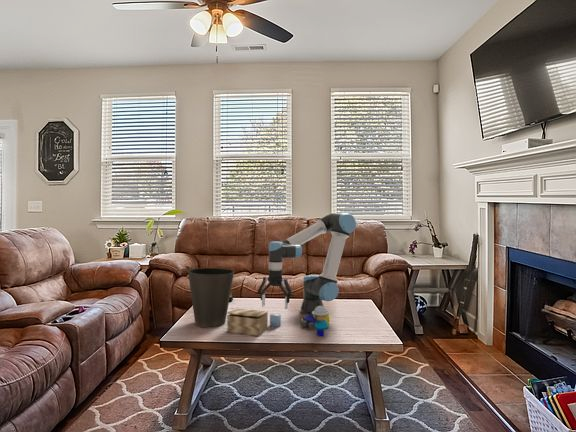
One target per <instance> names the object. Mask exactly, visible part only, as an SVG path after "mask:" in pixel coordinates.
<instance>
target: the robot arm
mask: <svg viewBox="0 0 576 432" xmlns="http://www.w3.org/2000/svg"><path fill="white" fill-rule="evenodd" d="M356 227H357V222H356V219H355V217H354V215H353V214H351V213H349V212H348V213H347V212H332V213H329V214H327V215H325V216H323V217H321V218H319V219H318V220H317V221H316V222H315V223H313V224H312V225H310V226H307V227H306V228H304V229H302V230H301V231H299V232H297V233H295V234H293V235H292V236H290V237H287V238H285V239H284V240H282V241H270V242H269V246H268V277H267V276H264V277H263V278H262V282H261V284H260V285H259V288H258V290H257V294H258V295H259V294H260V301H261V307H263V308H264V307H265V306H266V294H265V293H266V292H267V290H268V289H269V288H270V287H271V286H272V287H279V288H280V289H281V291H282V292H283V294H284V296H285V297H284V310H287V309H288V308H289V304H288V303H290V297H293V295H294V294H293V291H292V289H291V286H290V284H289V282H288V278H283V270H282V269H283V259H297V258H301V256H302V255H303V248H302V245H304V244H305V243H307V242H309V241H311V240H313V239H314V238H317V237H318V236H320V235H322V234H327V233H328V232H330V233H331V240H330V243H329V246H328V250H327V253H326V258H325V260H324V261H325V262H324V265H323V267H322V268H323V269H322V272H321V274H309V275H305V276H304V277H303V282H302V283H303V285H302V286H303V291H302V292H303V297H302V298H303V299H302V302H301V305H300V313H302V314H303V315H310V314H311V315H312V312H313V311H314V310H315V308H316V307H317V306H323V307H324V308H325V306H324V303H323V301H324V302H331V301H333V300H335V299H336V298H337V297H338V296H339V295H338V294H339V292H340V291H339V290H340V289H339V286H338V285H337V284H338V279H337V274H338V271H339V266H340V263H341V259H342V255H343V252H344V248H345V245H346V240H347V239H348V238H350V236H351V234H352V233H353V232H354V231H355V230H356ZM267 281H268V283H267V284H266V282H267ZM283 284H284V285H283ZM265 285H266V286H265ZM284 286H285V287H284Z"/></svg>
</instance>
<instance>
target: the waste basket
mask: <svg viewBox="0 0 576 432" xmlns="http://www.w3.org/2000/svg"><path fill="white" fill-rule="evenodd" d="M187 274H188V275H187V276H188V280H189V289H190V296H191V303H192V308H193V309H192V310H193V318H194V323H195V325H196V326H197V327H199V328H205V329H208V328H209V329H211V328H213V329H214V328H218V327H222V326H223V325H225V323H226V322H227V316H228V314H227V312H228V310H229V304H230V302H229V298H230V294H232V291H231V290H232V285H233V281H234V280H233V279H234V275H235V270H233V269H230V268H219V267H200V268H199V267H198V268H191V269H188V270H187Z"/></svg>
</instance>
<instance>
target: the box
mask: <svg viewBox="0 0 576 432" xmlns="http://www.w3.org/2000/svg"><path fill="white" fill-rule="evenodd" d="M226 322H227V325H226V329H227V330H226V331H227V333H226V334H232V335H233V334H234V335H235V334H236V335H243V336H251V337H257V338H258V337H260V336H262V335H263V334H264V333H265V332H266V331H267V330H268V327H269V326H268V313H266V314H264V315H262V316H260V317H255V316H245V315H236V314H227V316H226Z"/></svg>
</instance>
